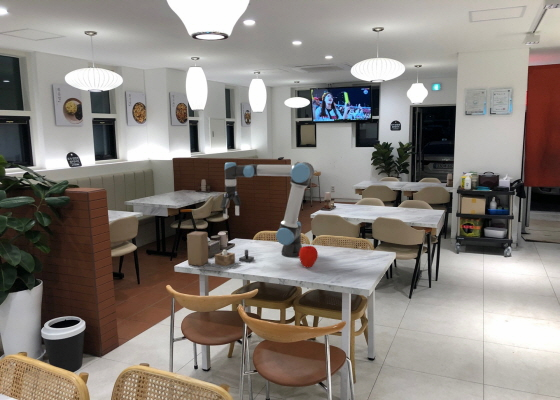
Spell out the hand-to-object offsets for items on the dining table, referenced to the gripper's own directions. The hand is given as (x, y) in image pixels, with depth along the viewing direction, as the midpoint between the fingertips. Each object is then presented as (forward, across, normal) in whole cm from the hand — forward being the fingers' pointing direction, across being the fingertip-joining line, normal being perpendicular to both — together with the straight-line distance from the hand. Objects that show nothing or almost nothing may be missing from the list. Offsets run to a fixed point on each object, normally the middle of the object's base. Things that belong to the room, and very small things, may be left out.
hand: (231, 216), depth 302 cm
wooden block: (+27, +27, -7) cm, 39 cm away
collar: (+26, +20, +9) cm, 34 cm away
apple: (+27, 0, +58) cm, 64 cm away
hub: (+27, +20, +9) cm, 35 cm away
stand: (+27, +6, +16) cm, 32 cm away
